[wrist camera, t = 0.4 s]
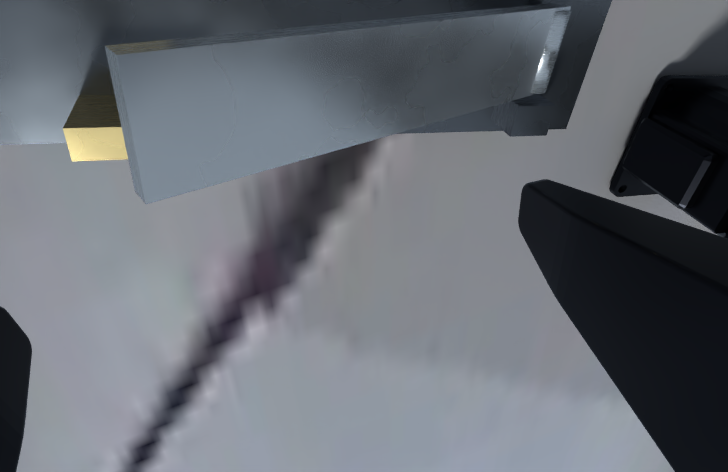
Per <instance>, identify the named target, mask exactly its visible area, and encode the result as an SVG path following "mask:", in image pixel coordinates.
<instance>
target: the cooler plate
mask: <svg viewBox="0 0 728 472" xmlns="http://www.w3.org/2000/svg"><path fill="white" fill-rule="evenodd" d="M611 1H612V0H0V145H10V144H46V143H67V145H68V149H69V152H70V156H71V159H72V161H94V160H121V159H128V156H127V151H126V146H125V141H124V137H123V132H122V127H121V122H120V117H119V112H118V108H117V103H116V98H115V93H114V88H113V84H112V79H111V74H110V69H109V64H108V59H107V55H106V50H105V46H107V45H117V44H128V43H138V42H148V41H159V40H169V39H180V38H190V37H201V36H211V35H222V34H232V33H243V32H253V31H264V30H274V29H285V28H295V27H306V26H316V25H327V24H337V23H348V22H358V21H369V20H379V19H390V18H400V17H411V16H421V15H432V14H442V13H452V12H463V11H473V10H484V9H494V8H505V7H515V6H526V5H536V4H547V3H560V4H564V5H568V6H571V9H570V10H571V14H570V17H569V20H568V24H567V27H566V30H565V33H564V36H563V39H562V42H561V46H560V49H559V52H558V55H557V58H556V61H555V64H554V68H553V71H552V74H551V77H550V80H549V83H548V87H547V90H546V92H545V93H543V94H534V95H531V96H527V97H524V98H520V99H517V100H513V101H510V102H506V103H502V104H499V105H495V106H492V107H488V108H485V109H481V110H478V111H474V112H471V113H467V114H464V115H460V116H456V117H453V118H449V119H446V120H442V121H439V122H435V123H432V124H428V125H425V126H421V127H418V128H414V129H410V130H407V131H403V132H400V133H435V132H471V131H504V132H506V133H507V134H508V135H509V136H539V135H547V132H548V129H566V127H567V124H568V122H569V119H570V116H571V113H572V110H573V108H574V105H575V102H576V99H577V96H578V94H579V91H580V88H581V85H582V83H583V80H584V77H585V74H586V71H587V69H588V66H589V63H590V60H591V57H592V55H593V52H594V49H595V46H596V43H597V41H598V38H599V35H600V32H601V29H602V27H603V24H604V21H605V18H606V15H607V13H608V10H609V7H610V4H611ZM400 133H396V134H400Z"/></svg>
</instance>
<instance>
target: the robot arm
mask: <svg viewBox="0 0 728 472" xmlns="http://www.w3.org/2000/svg"><path fill="white" fill-rule="evenodd" d="M666 86H667V87H666ZM609 189H610V192H611V193H613V194H614V195H615V196H617V197H623V196H636V195H650V194H659V195H661V196H662V197H663V198H665V199H666V200H668V201H669V202H670V203H672V204H673V205H675V206H676V207H677V208H679V209H681V210H683V211H684V212H686V213H687V214H688V215H690V216H691V217H693V218H694V219H695V220H697V221H698V222H700V223H701V224H703V225H704V226H705V227H707V228H708V229H710V230H711V231H712V232H714V233H716V234H717V235H715V234H712V233H709V232H706V231H703V230H700V229H697V228H694V227H691V226H688V225H685V224H682V223H679V222H676V221H672V220H669V219H666V218H663V217H660V216H657V215H654V214H651V213H648V212H645V211H642V210H639V209H636V208H633V207H630V206H627V205H624V204H621V203H618V202H615V201H612V200H609V199H606V198H602V197H599V196H596V195H593V194H590V193H587V192H584V191H581V190H578V189H575V188H572V187H569V186H566V185H563V184H560V183H557V182H554V181H551V180H547V179H543V180H539V181H535V182H530V183H527V184H526V185H524V187H523V189H522V193H521V202H520V210H519V218H518V223H519V228H520V231H521V234H522V236H523V237H524V239H525V241H526V243H527V245H528V247H529V249H530V251H531V253H532V255H533V256H534V258H535V260H536V262H537V264H538V266H539V268H540V270H541V272H542V273H543V275H544V277H545V279H546V281H547V283H548V285H549V287H550V288H551V290H552V292H553V294H554V295H555V297H556V299H557V300H558V302H559V303H560V305H561V306H562V308H563V309H564V311H565V312H566V314H567V315H568V317H569V318H570V319H571V321H572V322H573V324H574V325H575V327H576V328H577V330H578V331H579V333H580V334H581V335H582V337H583V338H584V340H585V341H586V343H587V344H588V346H589V347H590V349H591V350H592V351H593V353H594V354H595V356H596V357H597V359H598V360H599V362H600V363H601V365H602V366H603V368H604V369H605V370H606V372H607V373H608V375H609V376H610V378H611V379H612V381H613V382H614V384H615V385H616V386H617V388H618V389H619V391H620V392H621V394H622V395H623V397H624V398H625V400H626V401H627V402H628V404H629V405H630V407H631V408H632V410H633V411H634V413H635V414H636V416H637V417H638V419H639V420H640V421H641V423H642V424H643V426H644V427H645V429H646V430H647V432H648V433H649V435H650V436H651V437H652V439H653V440H654V442H655V443H656V445H657V446H658V448H659V449H660V451H661V452H662V454H663V455H664V456H665V458H666V459H667V461H668V462H669V464H670V465H671V467H672V468H673V470H674V471H675V472H728V76H685V75H667V76H664V77H662V78H660V79H659V80H658V81H657V83H656V85H655V86H654V89H653V91H652V93H651V95H650V98H649V100H648V102H647V104H646V106H645V109H644V111H643V113H642V115H641V118H640V120H639V122H638V124H637V127H636V129H635V131H634V133H633V136H632V138H631V140H630V142H629V145H628V147H627V149H626V151H625V153H624V156H623V158H622V160H621V162H620V165H619V167H618V169H617V171H616V174H615V176H614V178H613V180H612V183H611V185H610V188H609ZM718 235H719V236H718ZM31 356H32V348H31V343H30V341H29V339H28V337H27V335H26V334H25V333H24V332H23V330H22V329H21V328H20V327H19V325H18V324H17V323H16V322H15V320H14V319H13V318H12V317H11V315H10V314H9V313H8V312H7V311H6V310H5V309H4V308H2V307H0V472H16V469H17V465H18V460H19V456H20V451H21V446H22V440H23V434H24V427H25V418H26V408H27V397H28V387H29V377H30V366H31Z"/></svg>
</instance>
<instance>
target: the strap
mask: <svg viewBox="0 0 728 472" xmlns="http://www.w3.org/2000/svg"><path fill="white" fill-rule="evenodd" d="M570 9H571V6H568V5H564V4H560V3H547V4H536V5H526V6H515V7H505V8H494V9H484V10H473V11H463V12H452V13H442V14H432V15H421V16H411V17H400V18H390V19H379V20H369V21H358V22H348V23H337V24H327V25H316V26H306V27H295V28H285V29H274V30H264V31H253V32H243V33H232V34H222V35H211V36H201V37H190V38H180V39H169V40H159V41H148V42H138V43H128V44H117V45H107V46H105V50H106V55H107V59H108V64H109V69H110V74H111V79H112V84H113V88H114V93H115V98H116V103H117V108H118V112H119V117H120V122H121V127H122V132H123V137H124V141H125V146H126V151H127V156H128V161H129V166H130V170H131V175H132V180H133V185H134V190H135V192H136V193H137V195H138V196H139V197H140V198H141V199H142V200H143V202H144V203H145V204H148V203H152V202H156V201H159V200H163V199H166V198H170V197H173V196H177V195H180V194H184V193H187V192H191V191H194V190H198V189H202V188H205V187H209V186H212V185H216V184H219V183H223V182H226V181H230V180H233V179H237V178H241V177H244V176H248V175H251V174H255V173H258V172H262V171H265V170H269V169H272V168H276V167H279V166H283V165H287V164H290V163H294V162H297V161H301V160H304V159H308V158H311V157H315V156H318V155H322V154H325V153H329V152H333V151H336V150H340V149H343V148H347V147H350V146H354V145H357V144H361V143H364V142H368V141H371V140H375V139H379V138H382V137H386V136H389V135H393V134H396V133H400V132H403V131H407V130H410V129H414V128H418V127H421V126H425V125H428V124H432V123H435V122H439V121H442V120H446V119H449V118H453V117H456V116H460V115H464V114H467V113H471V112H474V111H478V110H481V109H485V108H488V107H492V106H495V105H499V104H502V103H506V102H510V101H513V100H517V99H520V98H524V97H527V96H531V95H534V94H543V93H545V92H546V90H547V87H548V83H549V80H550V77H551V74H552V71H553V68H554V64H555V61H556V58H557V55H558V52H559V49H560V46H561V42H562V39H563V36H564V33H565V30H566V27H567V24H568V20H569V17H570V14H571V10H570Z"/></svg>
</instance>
